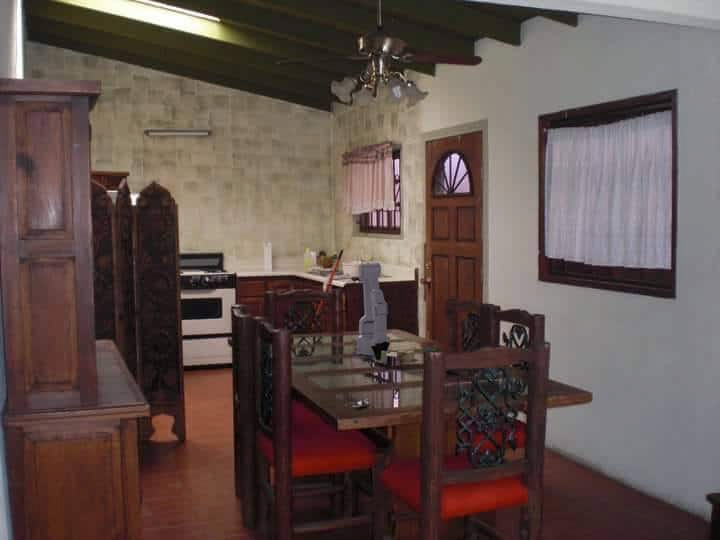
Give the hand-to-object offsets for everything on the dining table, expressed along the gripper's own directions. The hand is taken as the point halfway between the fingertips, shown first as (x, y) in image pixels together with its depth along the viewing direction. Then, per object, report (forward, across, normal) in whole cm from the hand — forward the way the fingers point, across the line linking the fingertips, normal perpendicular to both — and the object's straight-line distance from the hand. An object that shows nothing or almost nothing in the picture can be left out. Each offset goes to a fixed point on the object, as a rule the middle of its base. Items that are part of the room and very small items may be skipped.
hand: (380, 359), depth 357 cm
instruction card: (+1, +18, +5) cm, 19 cm away
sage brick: (+1, 0, 0) cm, 1 cm away
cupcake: (+2, +27, -11) cm, 29 cm away
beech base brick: (+2, +11, -7) cm, 13 cm away
